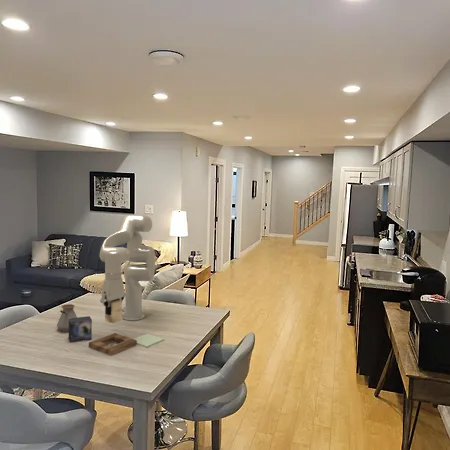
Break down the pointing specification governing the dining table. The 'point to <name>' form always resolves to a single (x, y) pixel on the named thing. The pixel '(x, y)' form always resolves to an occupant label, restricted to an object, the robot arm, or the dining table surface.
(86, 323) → the small box
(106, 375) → the dining table surface
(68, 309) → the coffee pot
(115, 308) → the beech block
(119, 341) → the cradle board
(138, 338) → the pad
